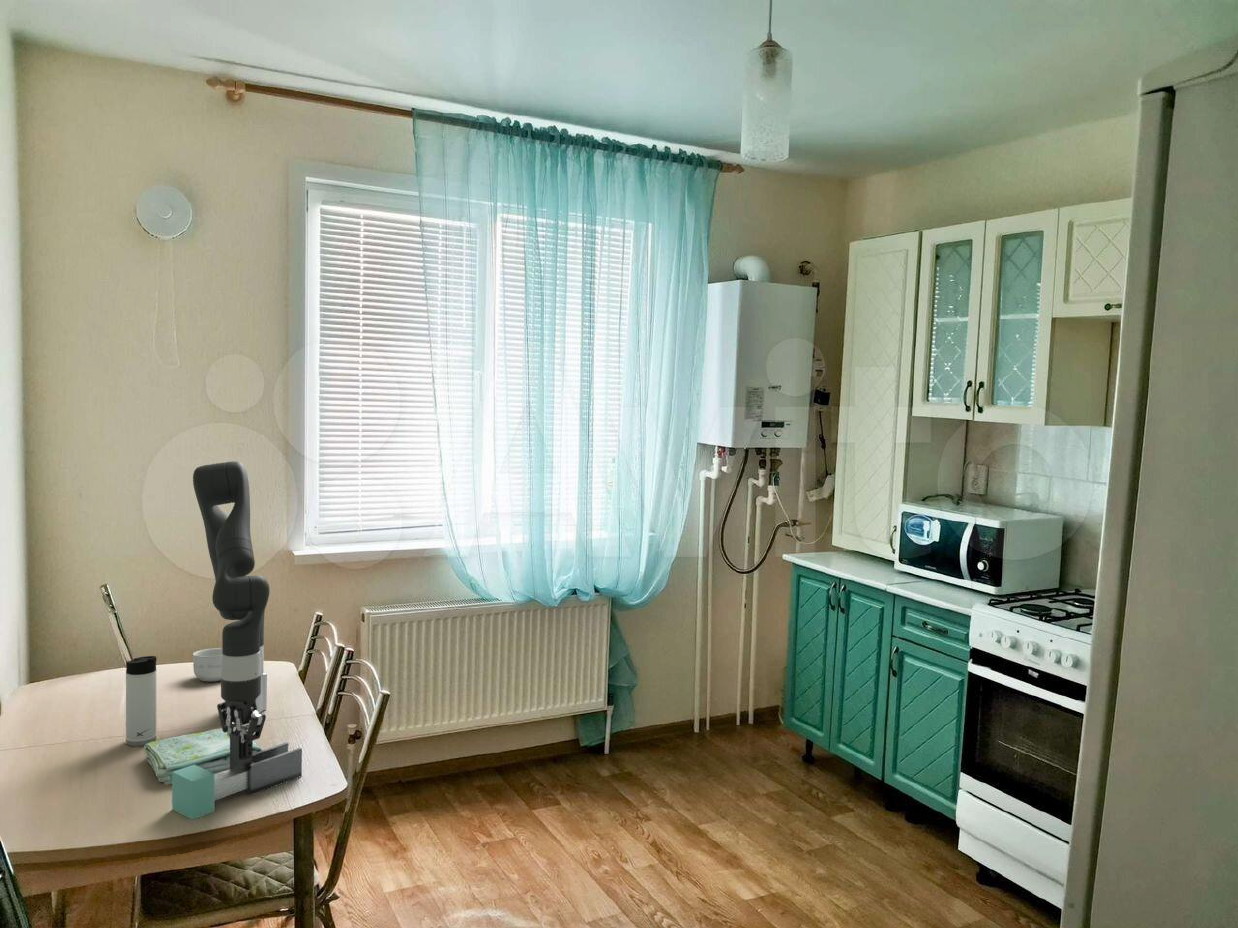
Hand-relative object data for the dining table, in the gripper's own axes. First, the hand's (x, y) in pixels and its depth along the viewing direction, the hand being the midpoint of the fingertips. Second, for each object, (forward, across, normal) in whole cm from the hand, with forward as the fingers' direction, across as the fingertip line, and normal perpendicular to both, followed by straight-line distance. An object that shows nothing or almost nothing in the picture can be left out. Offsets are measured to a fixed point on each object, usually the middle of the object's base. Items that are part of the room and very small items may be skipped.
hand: (241, 755), depth 183 cm
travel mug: (+8, +41, -2) cm, 42 cm away
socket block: (+8, 0, +10) cm, 13 cm away
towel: (+8, +20, -4) cm, 22 cm away
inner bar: (+6, 0, +4) cm, 7 cm away
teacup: (+8, +70, -38) cm, 81 cm away
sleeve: (+8, 0, -6) cm, 10 cm away
